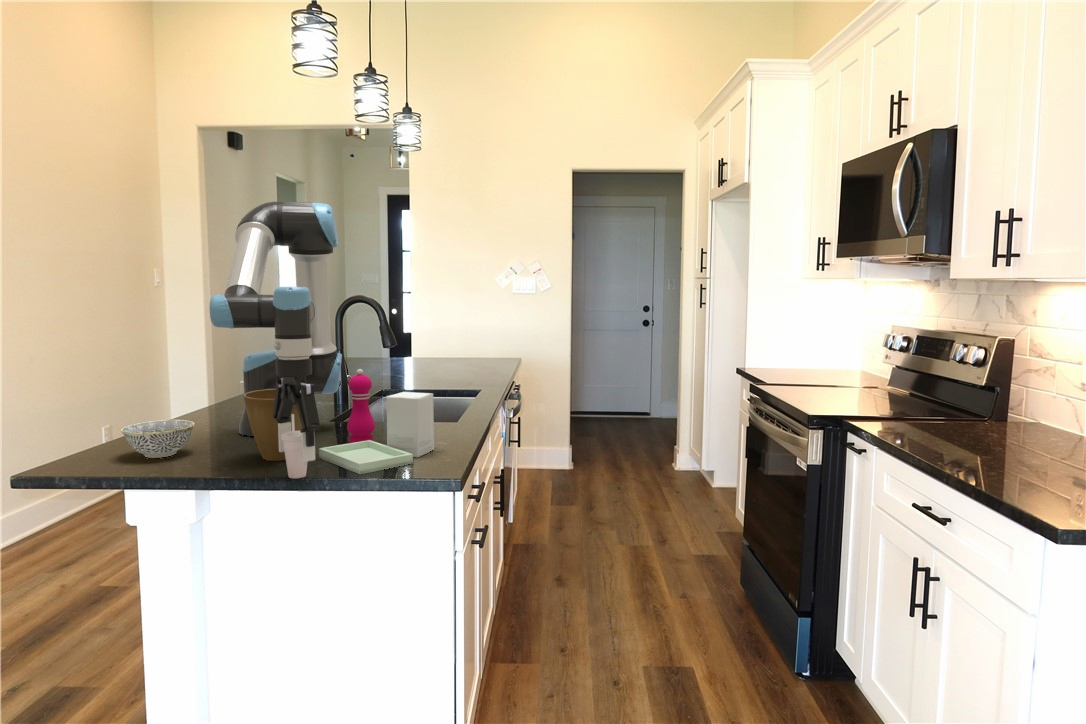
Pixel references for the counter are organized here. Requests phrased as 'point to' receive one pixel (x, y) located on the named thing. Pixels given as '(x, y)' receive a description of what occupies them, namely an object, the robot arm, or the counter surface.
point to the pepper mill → (360, 409)
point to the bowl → (158, 436)
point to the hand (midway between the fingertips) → (296, 455)
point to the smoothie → (294, 453)
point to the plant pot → (267, 422)
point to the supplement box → (410, 422)
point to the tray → (365, 456)
